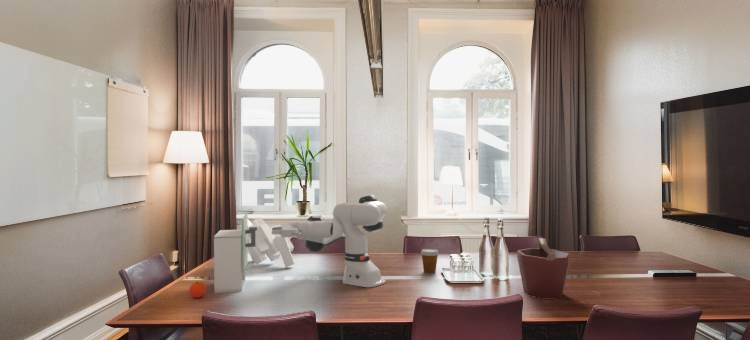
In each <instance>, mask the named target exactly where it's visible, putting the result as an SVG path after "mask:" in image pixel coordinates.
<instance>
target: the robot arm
mask: <svg viewBox="0 0 750 340" xmlns="http://www.w3.org/2000/svg"><path fill="white" fill-rule="evenodd" d="M388 211H389V210H388V207H387V204H386V203H384V202H382V201H378V199H377V197H376V196H375V195H374V194H365V195H363V196H361V197H360V198H359V199H358V202H357V203H356V202H342V203H341V202H340V203H337V204H336V205H335V206H334V208H333V210H332V216H333V218H332V221H327V220H325V218H324V217H323V216H322V215H310V216H309V217H308V218H307V219H306V220H303V221H302V220H298V221H296V222H289V223H283V224H281V227H273V226H272V227H273V228H272V227H271V229H272V234H277V235H282V237H288V238H296V239H297V240H305V244H304V246H305V247H306V249H307V250H308V251H309V252H313V253H317V252H321V251H322V250H324V249H325V248H326V247H328V246H329V245H332V244H333V243H335V242H337V241H339V240H340V239H342V237H344V242H345V244H344V245H345V252H344V260H345V261H344V262H345V263H344V264H345V265H344V269H343V270H344V271H343V276H342V284H344V285H351V286H356V287H362V288H363V287H364V288H374V287H378V286H380V285H384V284H386V279H384V278H382V275H381V270H380V268H378V267H377V266H376V265H375V263H374V262H373V261H372V260H371V258H372V254H369V252H368V237H367V235H366V233H364V232H363V231H361V229H360V228H359V226H362V227H361V228H362V229H363V230H365V232H368V233H377V232H379V231H380V230H381V229H382V228H384V223H383V218H385V217H386V216H387V214H388Z"/></svg>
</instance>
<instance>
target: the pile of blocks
mask: <svg viewBox="0 0 750 340" xmlns="http://www.w3.org/2000/svg"><path fill="white" fill-rule="evenodd" d="M249 227H257V230H255V247H247V250H248V253H249V255H250V257H251V260H252V263H255V264H256V265H259V264H260V263H263V262H264V261H265V260H267V258H268V259H269V260H270V261H271V262H273V261H276V260H278V259H280V256H281V258H282V261H283V265H284V267H285V268H288V267H290V266H293V265H295V260H294V258H293V255H292V252H293V250H294V248H295V246H294V245H293V243H292V241H291V240H290V237H282V235H277V234H272V228H273V227H282V224H280V223H279V224H277V225H273V226H271V228H270V227H269V225H268V224H267V222H265V221H264V219H263V218H262V217H260V218H256V219H253V222H252V221H251V220H250V219H248V218H247V230H249ZM239 228H240V229H242V223H240V225H239ZM247 243H251V233H248V234H247Z"/></svg>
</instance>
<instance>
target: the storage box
mask: <svg viewBox="0 0 750 340" xmlns="http://www.w3.org/2000/svg"><path fill="white" fill-rule="evenodd" d="M213 273H214V274H213V280H214V281H213V282H214V283H213V287H214V288H213V289H214V291H213V292H214V294H216V293H217V294H219V293H235V292H239V293H240V292H242V291H243V289H244V286H245V283H246V270H245V271H244V272H242V229H220V230H219V231H218V232H217V233H216V234H214V235H213Z"/></svg>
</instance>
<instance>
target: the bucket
mask: <svg viewBox="0 0 750 340" xmlns="http://www.w3.org/2000/svg"><path fill="white" fill-rule="evenodd" d="M537 243H538V244H537V247H536V248H535V247H534V248H533V247H530V248H525V249H519V250H517V252H516V253H517V254H516V255H517V263H518V268H519V273H520V277H521V283H522V288H523V291H525V292H526V293H527V294H528V295H530V296H529V297H532V296H535V297H534V298H537V297H540V298H539V299H541V298H560V299H562V297H563V295H562V294H564V289H565V285H566V281H567V275H568V271H569V270H568V269H569V267H570V261H571V253H570V252H567V251H566V252H565V251H563V250H562V251H561V250H559V249H558V250H557V249H553V248H552V249H551V248H550V247H549V246H548V243H547V238H543V237H538V240H537ZM526 293H525V294H526ZM527 294H526V295H527ZM528 295H527V296H528ZM561 296H562V297H561Z"/></svg>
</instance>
